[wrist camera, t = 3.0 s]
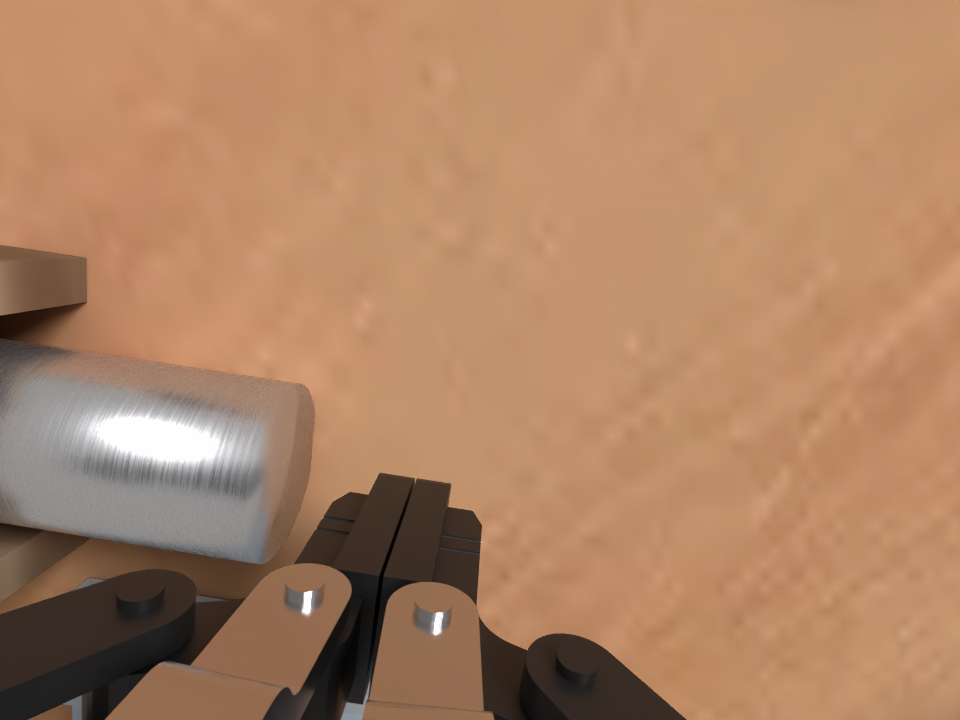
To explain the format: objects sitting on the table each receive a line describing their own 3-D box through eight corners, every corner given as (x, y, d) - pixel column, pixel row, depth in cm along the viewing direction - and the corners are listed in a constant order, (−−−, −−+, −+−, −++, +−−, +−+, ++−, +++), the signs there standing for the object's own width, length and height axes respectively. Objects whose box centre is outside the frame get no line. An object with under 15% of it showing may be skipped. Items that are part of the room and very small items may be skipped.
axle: (320, 364, 16) (247, 419, 12) (310, 507, 17) (240, 604, 13) (-134, 296, 16) (-364, 325, 12) (-115, 440, 17) (-319, 513, 13)
